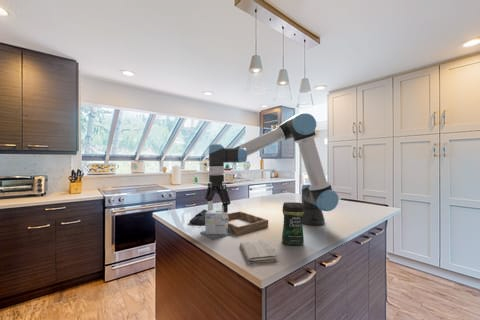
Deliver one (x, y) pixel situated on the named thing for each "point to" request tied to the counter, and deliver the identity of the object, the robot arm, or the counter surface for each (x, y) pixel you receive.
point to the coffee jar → (293, 223)
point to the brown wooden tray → (256, 225)
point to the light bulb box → (215, 223)
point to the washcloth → (258, 252)
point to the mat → (216, 235)
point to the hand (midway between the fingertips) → (217, 215)
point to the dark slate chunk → (199, 218)
